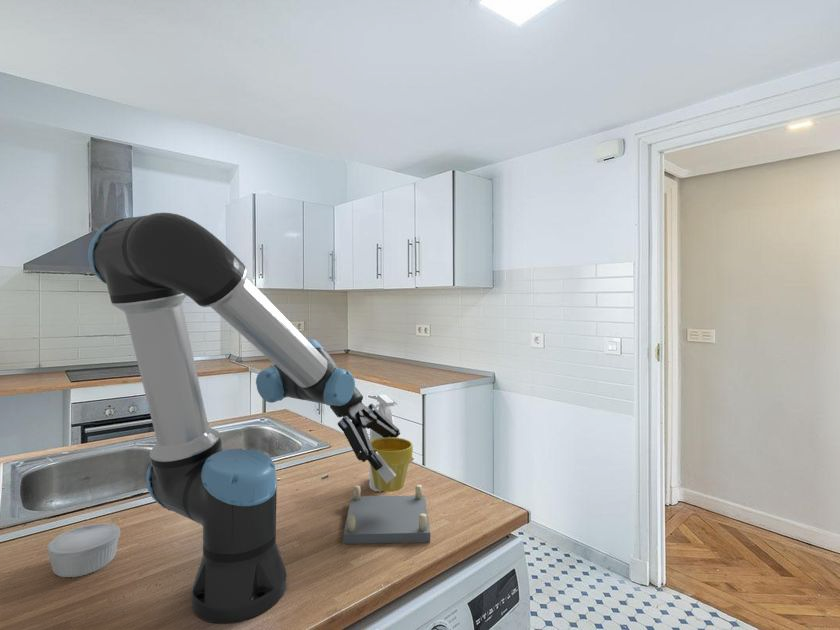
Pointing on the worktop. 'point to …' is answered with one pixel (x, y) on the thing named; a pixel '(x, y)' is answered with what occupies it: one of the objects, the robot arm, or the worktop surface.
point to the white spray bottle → (386, 411)
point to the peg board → (387, 519)
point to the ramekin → (83, 549)
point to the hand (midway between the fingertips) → (401, 470)
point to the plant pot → (392, 461)
